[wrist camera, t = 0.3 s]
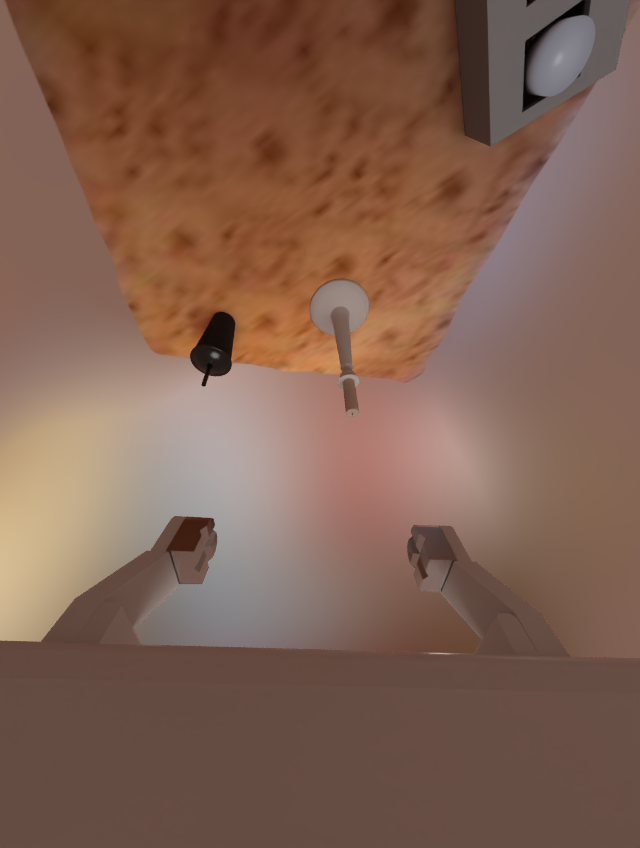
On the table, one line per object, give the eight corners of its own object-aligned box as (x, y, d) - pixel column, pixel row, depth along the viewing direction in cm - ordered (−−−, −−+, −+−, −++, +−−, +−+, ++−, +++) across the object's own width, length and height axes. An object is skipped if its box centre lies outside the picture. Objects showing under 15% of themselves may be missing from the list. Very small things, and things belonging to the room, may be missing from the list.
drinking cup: (203, 329, 62) (178, 392, 50) (209, 300, 57) (182, 363, 45) (237, 341, 65) (221, 403, 53) (245, 314, 60) (229, 377, 48)
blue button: (521, 43, 28) (538, 42, 26) (577, 3, 26) (601, -3, 24) (519, 106, 32) (534, 108, 29) (569, 73, 30) (589, 74, 28)
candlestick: (333, 343, 66) (343, 447, 48) (297, 305, 58) (293, 413, 40) (379, 311, 60) (410, 417, 42) (346, 264, 52) (366, 370, 34)
